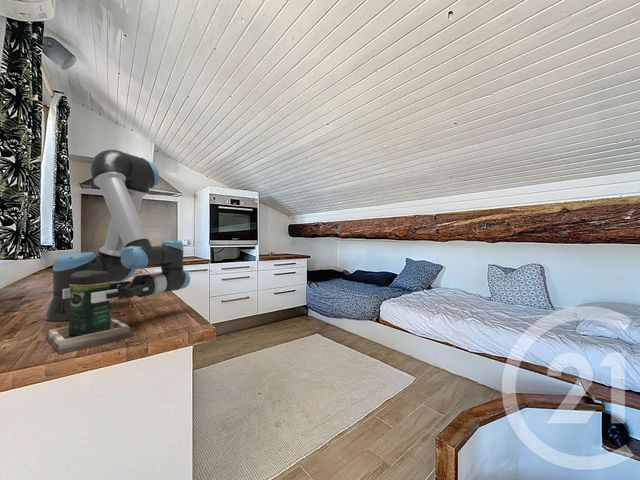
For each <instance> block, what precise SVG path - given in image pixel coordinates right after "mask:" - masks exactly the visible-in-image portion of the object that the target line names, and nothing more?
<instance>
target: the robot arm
mask: <svg viewBox="0 0 640 480" xmlns="http://www.w3.org/2000/svg"><path fill="white" fill-rule="evenodd" d="M90 175H91V178H92V181H93V184H94V185H95V186H97V187H98V188H99V189H100V191H101V193H102V196H103V198H104V201H105V203H106V205H107V208H108V210H109V213H110V215H111V218H110V223H109V227H108V230H107V231H108V232H107V235H106V239H105V243H104V245H103V246H102V247H99V248H98V252H97V255H96V253H94V252H93V251H90V252H88V251H87V252H86V251H85V252H76V253H75V252H74V253H68V254H61V255H59V256H57V257H55V258H54V260H53V265H52V273H53V274H52V299H51V301H50V304H49V305H48V308H47V310H46V313H45V319H46V321H50V322H64V321H69V318H70V302H71V294H70V287H69V280H70V276H71V275H72V274H73V273H74V272H78V271H86V270H95V271H106V272H107V273H109V274H110V280H111V281H110V282H111V284H110V288H109V290H108V291H102V292H95V293H91V303H97V302H102V301H107V300H109V301H112V300H117V299H127V300H128V299H130V298H133V297H137V298H143V297H144V298H145V297H148V296H151V295H153V296H154V295H155V296H158V294H162V293H168V292H172V291H173V292H174V291H178V290H179V291H180V290H183V289H185V288H187V287H188V286H189V285H190V283H191V276H190V274H189V272H188V271H187V270H184V253H185V252H184V244H183V242H182V241H181V240H163V241H162V240H161V245H154V246H153V245H152V244H151V241H150V240H149V237H148V235H147V232H146V230H145V228H144V225H143V223H142V221H141V218H140V216H139V213H140V210H141V206H142V202H143V199H144V198H143V197H144V196H146V195H148V194H149V192H150V189H154V188H155V187H156V186H157V185H158V183H159V180H160V175H159V169H158V168H157V166H156V164H154V163H153V162H152V161H150V160H148V159H145V158H144V157H139V156H137V155H133V154H129V153H127V152H123V151H122V150H121V151H120V150H117V149H105V150H103V151H101V152H99V153H97V154H96V155H95V156H94V157H93V159H92V161H91V163H90ZM157 267H161V268H160V269H161V272H154V273H148V274H140V275H139V274H137V275H136V276H135V277H133V279H132V281H130V280H128V279H130V278H131V277H132V276H133V275H134V274H135V272H136V270H142V269H148V268H157ZM127 280H128V281H127Z"/></svg>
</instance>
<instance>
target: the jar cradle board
mask: <svg viewBox="0 0 640 480" xmlns="http://www.w3.org/2000/svg"><path fill="white" fill-rule="evenodd" d="M130 329H131V328H130V326H129V325H127V324H126V323H124V322H121V320H118V319H116V318H114V317H110V330H106V331H101V332H96V333H92V334H87V335H82V336H78V337H76V336H71V335H69V325H67V326H63V327H57V328H53V329H52V328H51V329H48V333H46V334H45V339H46V340H47V341H48V343H50V345H51V346H52V347H53V348H54V350H55V351H56V352H57V353H58V354H59V355H62V354H66V353H70V352H71V353H72V352H76V351H79V350H83V349H87V348H92V347H96V346H99V345H104V344H107V343H111V342H112V343H113V342H115V341H121V340H125V339H129V338H133V337H134V332H133V331H131V330H130Z"/></svg>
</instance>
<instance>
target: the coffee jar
mask: <svg viewBox="0 0 640 480" xmlns="http://www.w3.org/2000/svg"><path fill="white" fill-rule="evenodd" d="M110 281H111V280H110V274H109V273H107V272H106V271H95V270H86V271H78V272H74V273H73V274H72V275H71V276H70V280H69V287H70V294H71V302H70V318H69V320H68V321H69V322H68V326H69V335H71V336H76V337H78V336H82V335H87V334H92V333H96V332H101V331H106V330H110V318H111V313H110V312H111V311H110V300H107V301H102V302H97V303H91V293H95V292H102V291H108V290H109V288H110V284H111V283H112V282H110Z"/></svg>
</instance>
